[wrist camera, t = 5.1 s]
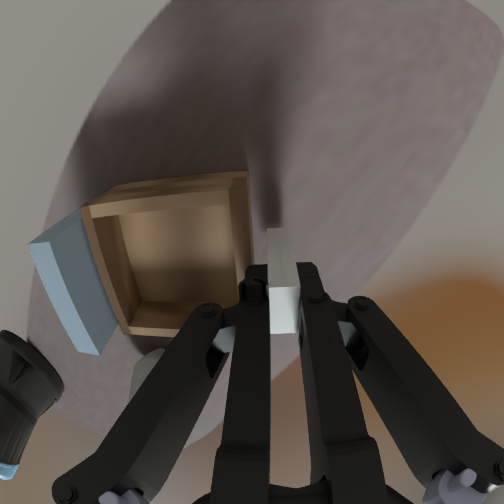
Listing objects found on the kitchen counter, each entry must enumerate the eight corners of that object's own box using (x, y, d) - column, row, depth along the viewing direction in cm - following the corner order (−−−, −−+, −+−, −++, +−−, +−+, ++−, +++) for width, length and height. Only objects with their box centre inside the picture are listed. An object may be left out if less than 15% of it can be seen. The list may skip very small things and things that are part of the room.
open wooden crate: (144, 294, 22) (123, 333, 17) (117, 184, 17) (79, 207, 13) (256, 292, 21) (255, 337, 17) (248, 170, 17) (244, 188, 13)
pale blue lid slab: (120, 286, 22) (78, 351, 14) (95, 198, 18) (27, 244, 11) (139, 286, 21) (100, 355, 14) (116, 195, 18) (49, 242, 11)
